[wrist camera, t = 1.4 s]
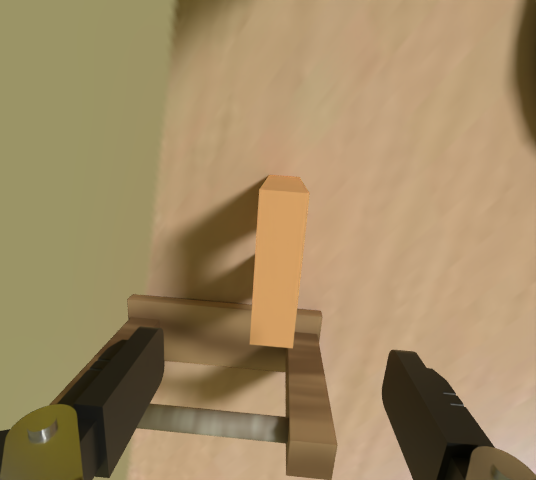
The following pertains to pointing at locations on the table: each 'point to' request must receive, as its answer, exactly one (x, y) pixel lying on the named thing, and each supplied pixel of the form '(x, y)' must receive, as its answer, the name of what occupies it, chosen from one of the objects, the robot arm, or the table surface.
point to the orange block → (278, 260)
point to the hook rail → (240, 356)
